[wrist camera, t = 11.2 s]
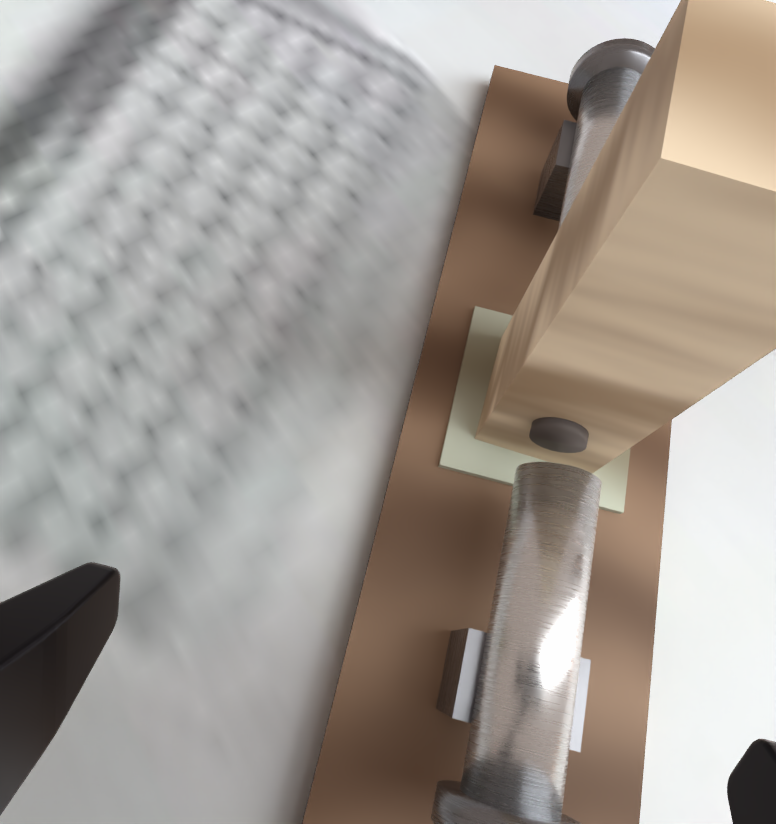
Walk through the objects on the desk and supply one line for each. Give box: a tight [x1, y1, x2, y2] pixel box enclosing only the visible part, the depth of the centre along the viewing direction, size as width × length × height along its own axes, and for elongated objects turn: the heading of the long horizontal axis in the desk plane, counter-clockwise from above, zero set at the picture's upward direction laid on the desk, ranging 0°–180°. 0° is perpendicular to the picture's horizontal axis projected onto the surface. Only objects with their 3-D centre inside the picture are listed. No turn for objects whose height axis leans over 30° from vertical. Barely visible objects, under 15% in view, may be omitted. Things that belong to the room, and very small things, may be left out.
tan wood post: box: [475, 0, 776, 473], centre depth 17 cm, size 5×4×14 cm
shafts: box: [431, 39, 655, 824], centre depth 21 cm, size 28×4×5 cm, turn 165°
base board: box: [302, 65, 672, 824], centre depth 24 cm, size 34×10×2 cm, turn 165°
